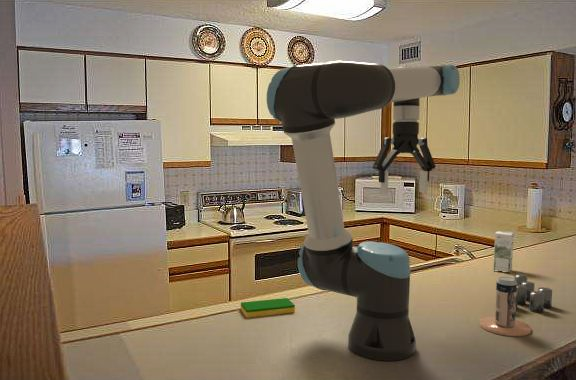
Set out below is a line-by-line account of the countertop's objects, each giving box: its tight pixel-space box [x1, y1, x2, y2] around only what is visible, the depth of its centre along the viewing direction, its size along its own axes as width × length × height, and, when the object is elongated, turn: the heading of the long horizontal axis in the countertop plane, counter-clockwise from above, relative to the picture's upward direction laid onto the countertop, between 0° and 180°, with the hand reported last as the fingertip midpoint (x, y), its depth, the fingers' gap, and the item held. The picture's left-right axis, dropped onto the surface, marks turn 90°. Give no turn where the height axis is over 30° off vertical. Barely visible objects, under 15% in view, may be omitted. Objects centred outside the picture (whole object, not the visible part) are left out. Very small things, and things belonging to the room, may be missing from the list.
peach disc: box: [479, 316, 532, 337], centre depth 124 cm, size 12×12×1 cm
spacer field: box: [514, 273, 553, 314], centre depth 143 cm, size 15×26×5 cm, turn 131°
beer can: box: [494, 276, 517, 328], centre depth 123 cm, size 5×5×12 cm
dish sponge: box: [240, 297, 296, 318], centre depth 135 cm, size 7×14×2 cm, turn 109°
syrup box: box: [493, 230, 515, 273], centre depth 179 cm, size 6×6×14 cm
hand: (403, 193), depth 145 cm, fingers open, 13 cm apart
